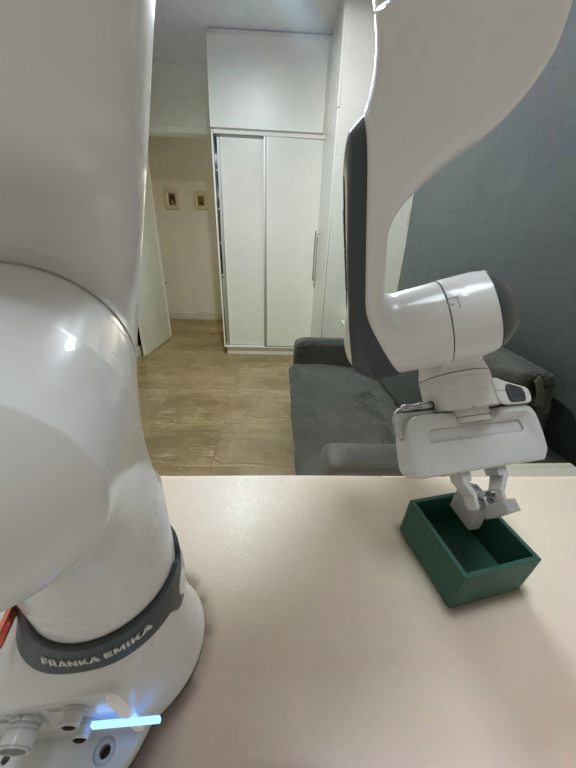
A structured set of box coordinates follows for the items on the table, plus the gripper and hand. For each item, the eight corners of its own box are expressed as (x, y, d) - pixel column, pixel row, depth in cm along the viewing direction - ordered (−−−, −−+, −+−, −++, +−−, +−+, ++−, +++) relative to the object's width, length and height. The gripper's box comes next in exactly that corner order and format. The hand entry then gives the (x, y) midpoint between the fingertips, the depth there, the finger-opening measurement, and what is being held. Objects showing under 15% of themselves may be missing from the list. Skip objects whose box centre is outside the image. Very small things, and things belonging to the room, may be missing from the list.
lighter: (449, 504, 44) (468, 462, 40) (460, 502, 44) (479, 461, 40) (484, 551, 38) (511, 508, 34) (496, 550, 38) (524, 506, 34)
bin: (448, 608, 38) (465, 579, 35) (399, 528, 48) (409, 500, 44) (519, 588, 41) (542, 559, 38) (460, 516, 50) (474, 488, 47)
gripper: (403, 400, 36) (431, 526, 33) (538, 387, 41) (575, 496, 38) (377, 410, 42) (399, 517, 39) (498, 398, 47) (527, 493, 44)
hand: (487, 507), depth 38 cm, fingers closed on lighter, 2 cm apart
